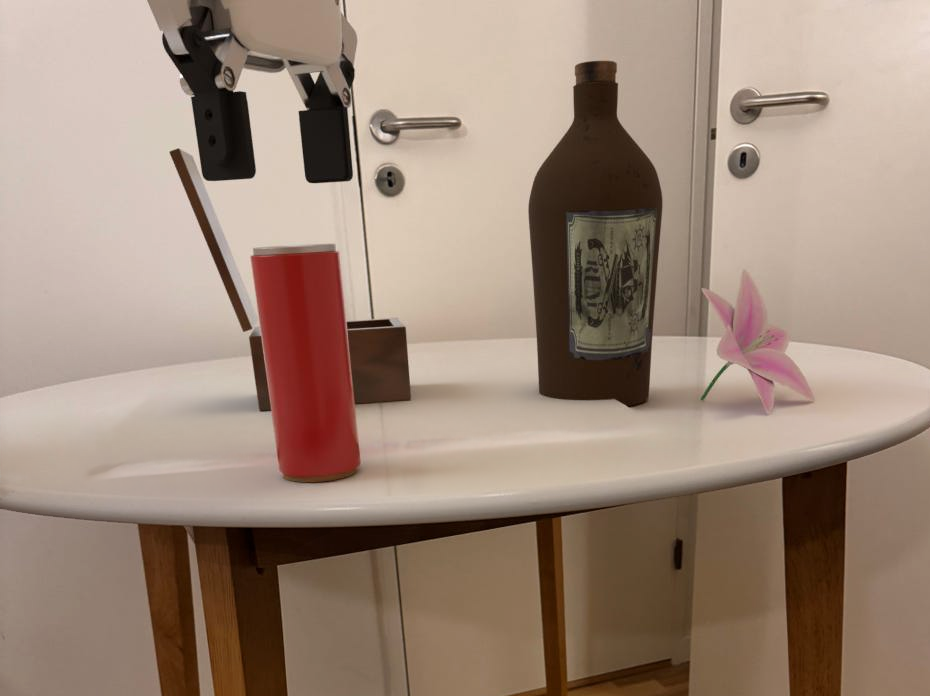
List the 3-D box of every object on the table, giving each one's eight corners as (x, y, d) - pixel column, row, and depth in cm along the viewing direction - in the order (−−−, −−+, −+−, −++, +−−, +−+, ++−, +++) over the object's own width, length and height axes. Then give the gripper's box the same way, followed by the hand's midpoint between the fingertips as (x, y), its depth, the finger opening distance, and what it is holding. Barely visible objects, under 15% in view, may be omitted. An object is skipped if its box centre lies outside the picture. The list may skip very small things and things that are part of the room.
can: (277, 480, 58) (246, 249, 53) (280, 460, 63) (252, 247, 58) (362, 473, 59) (339, 244, 54) (359, 454, 64) (337, 242, 58)
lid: (192, 155, 77) (183, 158, 77) (178, 147, 70) (168, 151, 70) (258, 319, 83) (249, 322, 83) (252, 329, 75) (243, 332, 75)
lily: (687, 436, 71) (758, 321, 65) (627, 357, 78) (686, 248, 73) (799, 463, 77) (874, 360, 71) (734, 386, 84) (796, 288, 78)
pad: (282, 485, 59) (281, 479, 59) (284, 467, 63) (283, 461, 63) (358, 478, 60) (357, 472, 59) (355, 461, 64) (354, 455, 64)
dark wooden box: (403, 394, 88) (397, 317, 85) (412, 410, 80) (405, 326, 77) (265, 404, 86) (254, 326, 83) (260, 422, 78) (248, 336, 76)
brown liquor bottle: (518, 395, 84) (509, 75, 74) (628, 385, 86) (635, 72, 76) (553, 416, 75) (549, 52, 65) (676, 405, 77) (691, 50, 67)
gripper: (281, -132, 56) (313, 186, 63) (51, -244, 42) (126, 182, 49) (390, -157, 53) (410, 180, 60) (182, -287, 39) (242, 174, 46)
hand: (283, 180), depth 54 cm, fingers open, 9 cm apart
